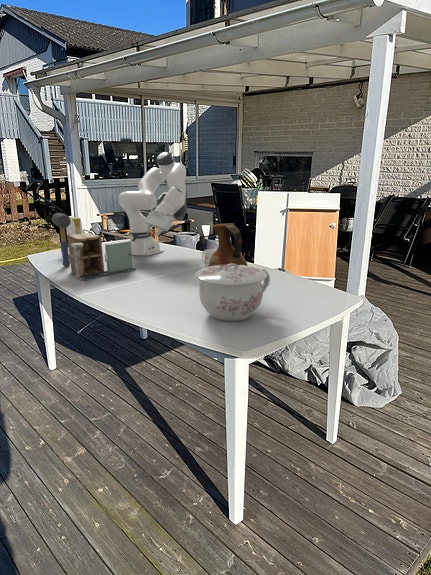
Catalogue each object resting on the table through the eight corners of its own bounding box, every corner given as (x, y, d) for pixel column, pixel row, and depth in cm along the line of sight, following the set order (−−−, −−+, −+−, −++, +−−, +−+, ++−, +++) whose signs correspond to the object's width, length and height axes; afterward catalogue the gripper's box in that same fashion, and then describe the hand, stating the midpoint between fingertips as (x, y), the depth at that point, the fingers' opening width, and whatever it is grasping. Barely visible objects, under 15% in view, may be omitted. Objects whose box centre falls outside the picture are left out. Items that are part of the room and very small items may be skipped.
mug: (224, 270, 219) (224, 250, 215) (213, 274, 213) (212, 253, 209) (208, 266, 226) (208, 247, 223) (197, 270, 220) (196, 250, 217)
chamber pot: (187, 326, 147) (186, 271, 140) (203, 301, 172) (203, 253, 166) (264, 331, 142) (267, 275, 136) (269, 304, 168) (271, 256, 161)
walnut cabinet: (92, 268, 225) (88, 232, 218) (108, 274, 212) (104, 237, 206) (63, 273, 214) (59, 236, 208) (79, 280, 201) (74, 241, 195)
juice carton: (67, 253, 260) (63, 216, 253) (79, 251, 265) (75, 214, 258) (75, 255, 254) (70, 217, 247) (86, 253, 259) (82, 216, 252)
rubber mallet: (77, 267, 225) (70, 214, 216) (63, 270, 221) (56, 215, 212) (69, 263, 235) (63, 211, 226) (56, 265, 230) (49, 212, 221)
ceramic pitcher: (227, 277, 207) (227, 218, 198) (257, 285, 193) (259, 223, 184) (199, 285, 194) (198, 223, 185) (229, 294, 180) (230, 228, 171)
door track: (130, 267, 225) (130, 265, 225) (135, 269, 221) (135, 267, 221) (79, 278, 206) (79, 276, 205) (84, 280, 202) (84, 278, 201)
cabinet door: (130, 268, 223) (128, 240, 218) (133, 269, 221) (131, 241, 216) (105, 273, 213) (102, 244, 208) (108, 275, 211) (105, 245, 206)
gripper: (178, 219, 221) (165, 240, 219) (157, 213, 235) (145, 233, 234) (171, 212, 216) (158, 234, 215) (150, 207, 231) (138, 227, 229)
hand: (151, 233), depth 224 cm, fingers open, 8 cm apart
